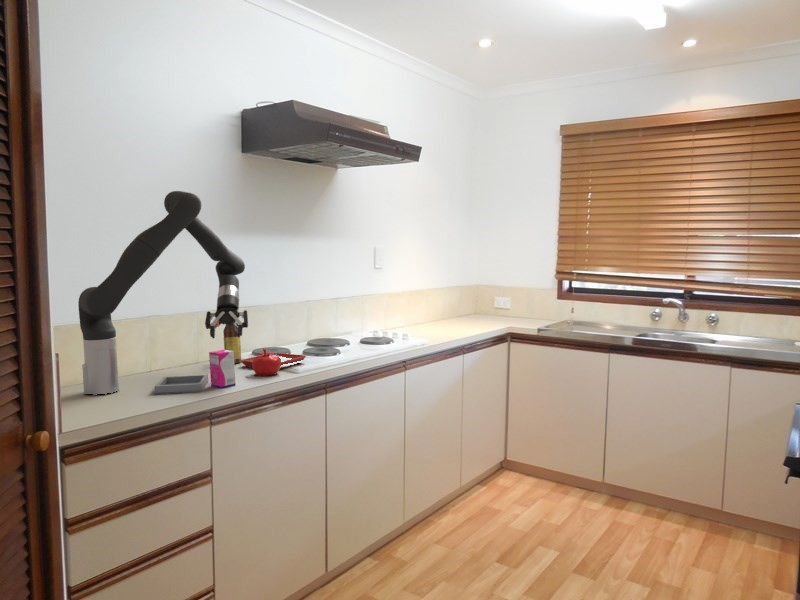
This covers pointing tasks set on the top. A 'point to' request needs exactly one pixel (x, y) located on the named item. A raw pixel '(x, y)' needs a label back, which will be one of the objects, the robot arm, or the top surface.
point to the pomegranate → (266, 364)
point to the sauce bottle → (232, 341)
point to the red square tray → (294, 357)
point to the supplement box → (222, 368)
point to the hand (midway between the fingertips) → (226, 336)
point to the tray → (181, 384)
